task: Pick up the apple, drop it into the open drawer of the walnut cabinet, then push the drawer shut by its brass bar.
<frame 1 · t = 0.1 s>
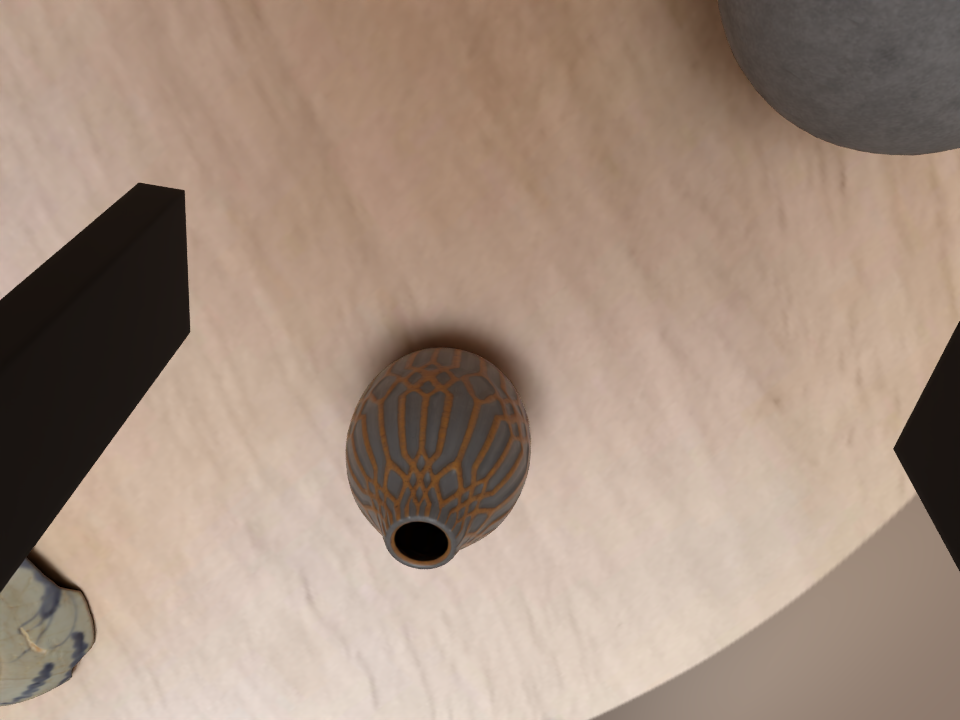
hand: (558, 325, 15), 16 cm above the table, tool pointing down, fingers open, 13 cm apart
vase: (449, 390, 35), on the table
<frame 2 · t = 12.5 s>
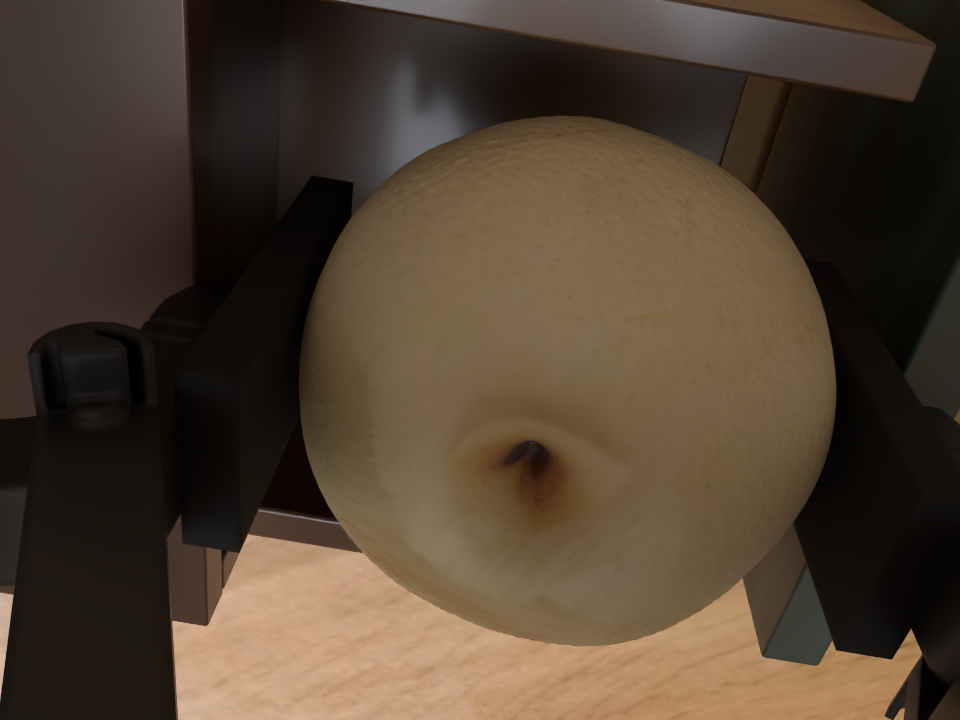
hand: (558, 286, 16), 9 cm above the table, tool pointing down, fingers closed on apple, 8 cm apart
apple: (556, 276, 16), point 8 cm above the table, touching gripper
drawer: (647, 242, 18), point 6 cm above the table, slide at 11.0 cm
cabinet: (72, 56, 23), on the table
when the fingers open (9 cm above the table, at t = 12.8 s): apple drops 7 cm, resting on drawer.
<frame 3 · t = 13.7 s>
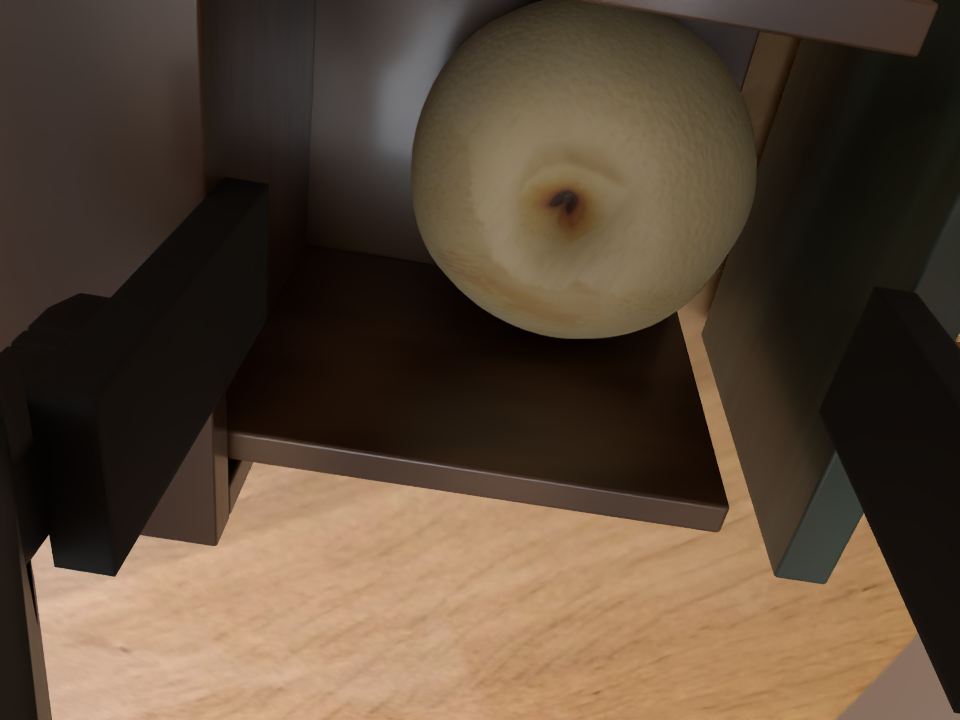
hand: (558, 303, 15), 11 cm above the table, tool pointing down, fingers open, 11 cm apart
apple: (573, 126, 23), point 2 cm above the table, touching drawer
drawer: (665, 198, 20), point 6 cm above the table, slide at 12.1 cm, touching apple, gripper
cabinet: (73, 23, 24), on the table
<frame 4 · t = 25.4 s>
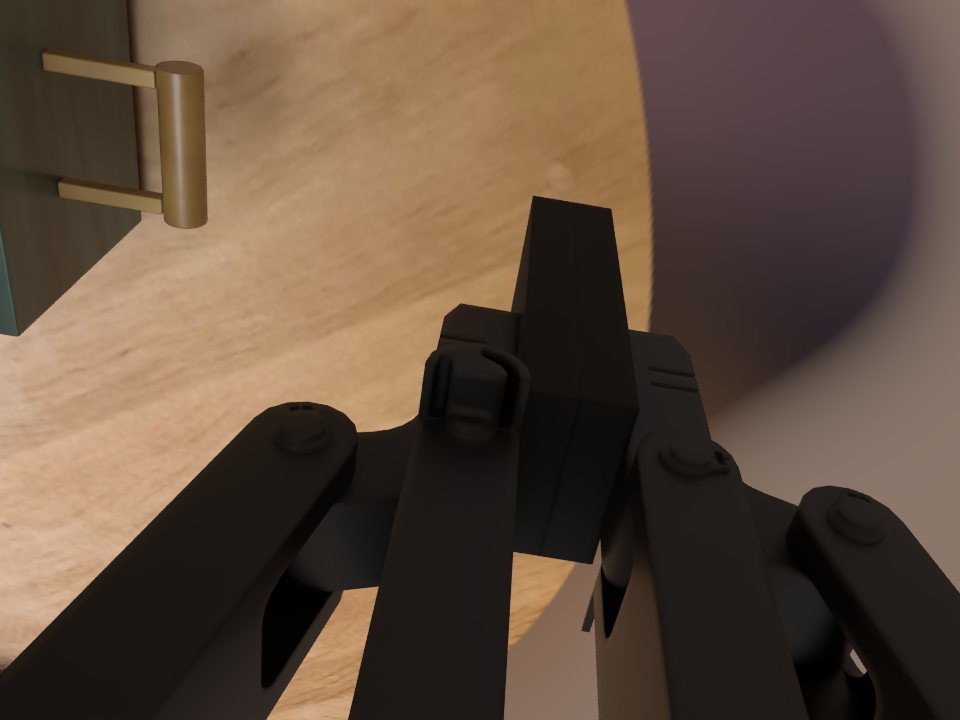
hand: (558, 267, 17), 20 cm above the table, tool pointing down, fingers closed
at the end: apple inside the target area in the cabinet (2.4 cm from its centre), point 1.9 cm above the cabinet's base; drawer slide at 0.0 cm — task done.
